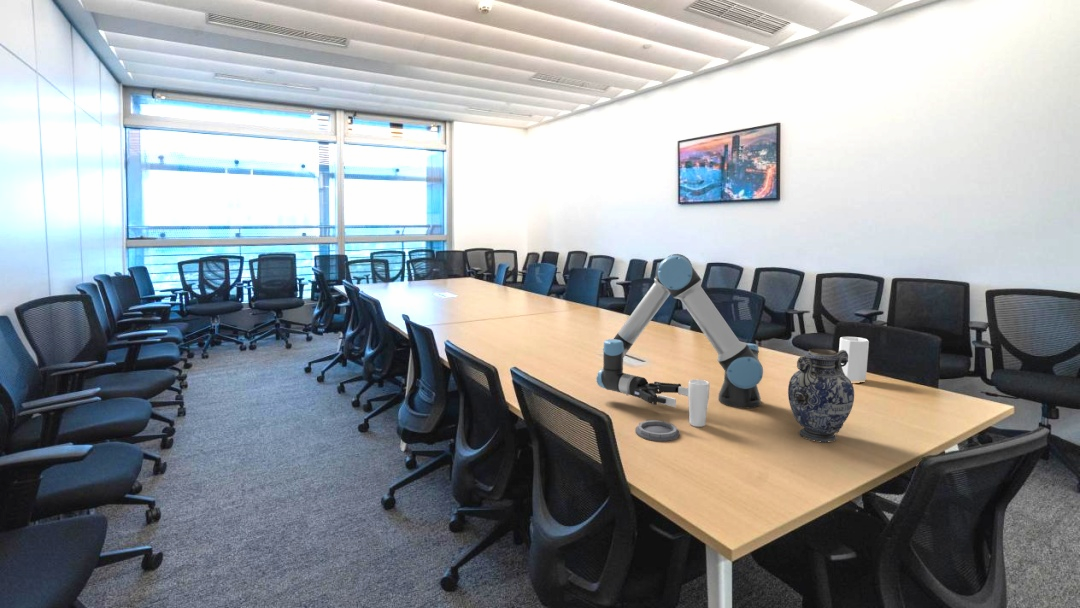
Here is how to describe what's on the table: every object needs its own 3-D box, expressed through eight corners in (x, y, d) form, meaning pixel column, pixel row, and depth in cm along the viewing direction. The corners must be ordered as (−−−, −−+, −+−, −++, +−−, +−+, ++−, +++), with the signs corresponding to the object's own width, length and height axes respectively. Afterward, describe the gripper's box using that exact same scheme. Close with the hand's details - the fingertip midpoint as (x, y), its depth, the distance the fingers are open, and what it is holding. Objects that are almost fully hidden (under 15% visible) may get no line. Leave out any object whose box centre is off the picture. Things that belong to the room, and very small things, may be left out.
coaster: (680, 428, 178) (681, 422, 178) (677, 443, 165) (677, 437, 164) (638, 423, 182) (639, 417, 182) (632, 438, 169) (632, 432, 169)
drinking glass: (697, 429, 176) (698, 385, 174) (682, 423, 182) (684, 380, 180) (712, 426, 179) (713, 383, 177) (697, 419, 185) (699, 378, 183)
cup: (871, 384, 227) (875, 341, 225) (845, 384, 228) (848, 341, 225) (856, 376, 238) (859, 336, 236) (831, 376, 239) (834, 336, 236)
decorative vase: (819, 452, 158) (825, 360, 154) (769, 431, 175) (774, 348, 171) (867, 441, 166) (874, 353, 163) (816, 422, 183) (821, 342, 180)
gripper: (652, 388, 206) (702, 400, 192) (613, 403, 189) (665, 418, 174) (652, 369, 205) (703, 380, 191) (613, 382, 188) (666, 395, 173)
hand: (685, 398), depth 182 cm, fingers open, 13 cm apart
